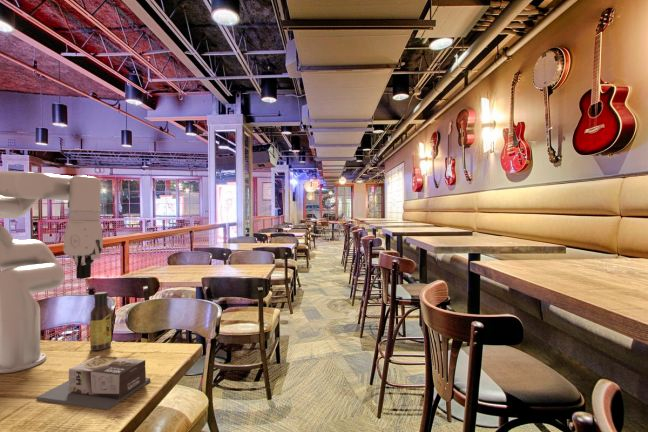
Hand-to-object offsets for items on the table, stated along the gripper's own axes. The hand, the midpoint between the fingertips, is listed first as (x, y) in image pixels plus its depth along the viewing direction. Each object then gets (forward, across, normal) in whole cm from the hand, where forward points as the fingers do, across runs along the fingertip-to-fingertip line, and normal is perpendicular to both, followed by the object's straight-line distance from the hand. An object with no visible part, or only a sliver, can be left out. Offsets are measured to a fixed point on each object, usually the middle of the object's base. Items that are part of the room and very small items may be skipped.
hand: (83, 277), depth 96 cm
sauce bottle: (+30, -12, +17) cm, 36 cm away
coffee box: (+25, +8, -6) cm, 27 cm away
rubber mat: (+29, +13, -6) cm, 32 cm away
